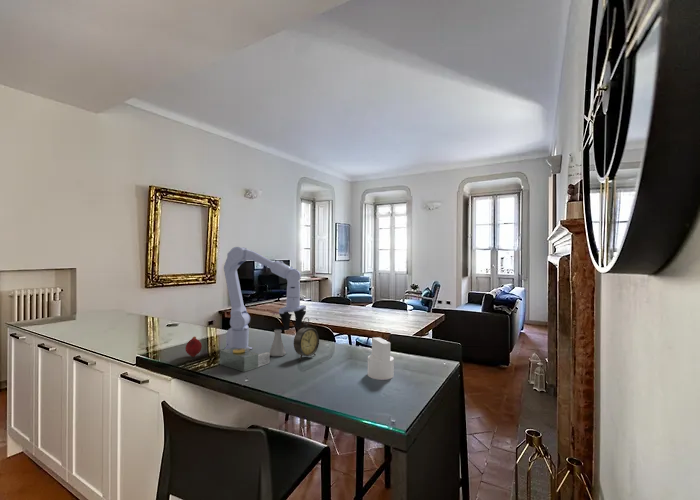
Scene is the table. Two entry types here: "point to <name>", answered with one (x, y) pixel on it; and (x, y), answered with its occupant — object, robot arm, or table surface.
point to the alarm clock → (306, 341)
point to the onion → (193, 347)
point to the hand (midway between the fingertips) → (292, 328)
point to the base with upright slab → (380, 360)
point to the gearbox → (243, 358)
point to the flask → (277, 345)
